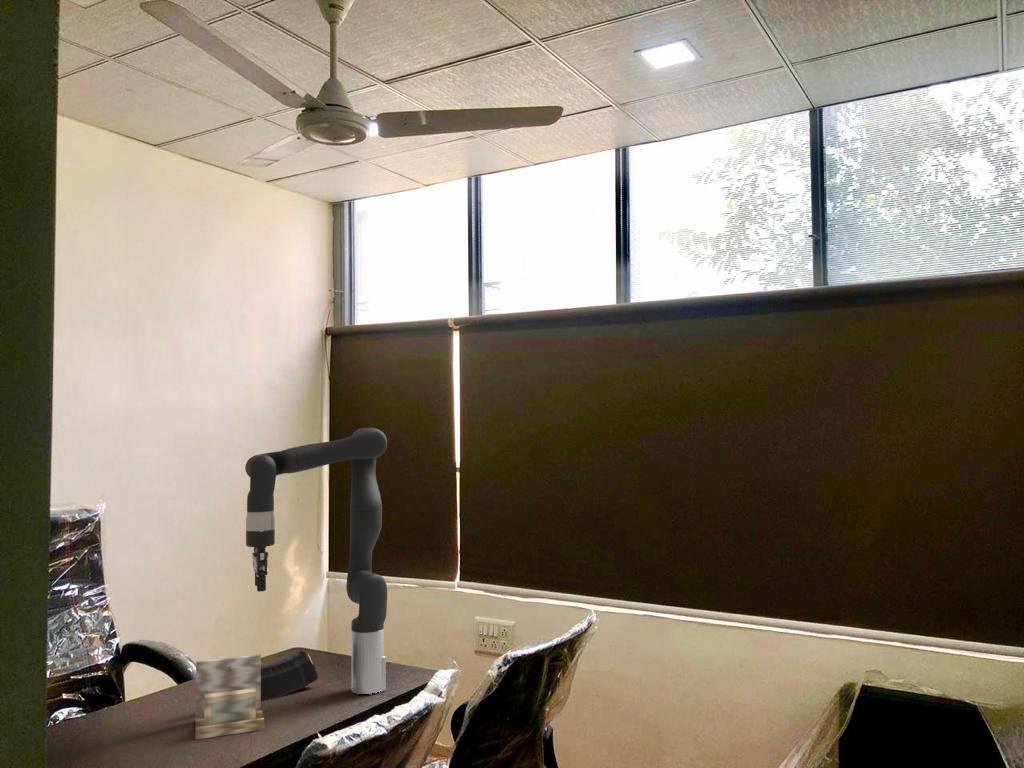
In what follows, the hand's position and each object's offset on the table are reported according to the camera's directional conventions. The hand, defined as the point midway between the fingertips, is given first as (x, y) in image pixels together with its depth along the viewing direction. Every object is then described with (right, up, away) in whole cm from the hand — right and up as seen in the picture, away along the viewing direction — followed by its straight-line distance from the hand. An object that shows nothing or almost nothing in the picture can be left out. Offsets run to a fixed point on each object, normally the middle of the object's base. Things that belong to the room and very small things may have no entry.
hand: (260, 588), depth 215 cm
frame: (-2, -30, -17) cm, 34 cm away
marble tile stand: (-4, -31, -13) cm, 34 cm away
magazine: (-1, -33, +7) cm, 34 cm away
